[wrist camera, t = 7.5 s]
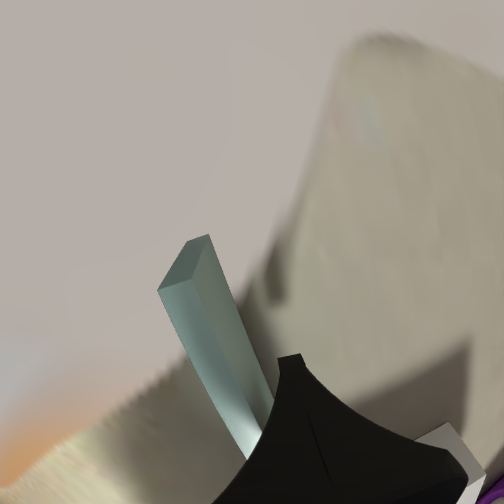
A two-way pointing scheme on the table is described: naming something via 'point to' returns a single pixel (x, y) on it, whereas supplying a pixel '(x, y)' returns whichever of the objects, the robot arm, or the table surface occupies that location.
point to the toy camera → (494, 494)
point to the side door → (217, 341)
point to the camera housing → (458, 459)
